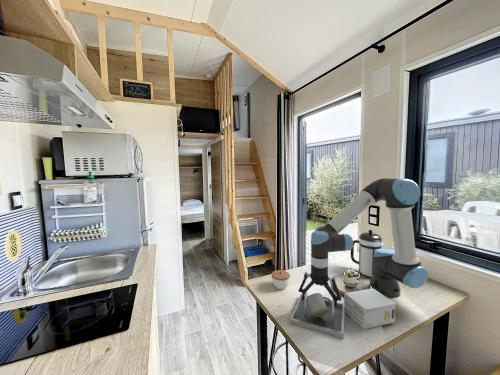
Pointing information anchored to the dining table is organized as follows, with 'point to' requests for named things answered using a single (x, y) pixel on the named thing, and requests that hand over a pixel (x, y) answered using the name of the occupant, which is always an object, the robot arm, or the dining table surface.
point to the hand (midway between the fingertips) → (319, 309)
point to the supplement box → (369, 308)
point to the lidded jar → (280, 279)
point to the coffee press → (367, 251)
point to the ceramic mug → (318, 304)
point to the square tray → (320, 318)
